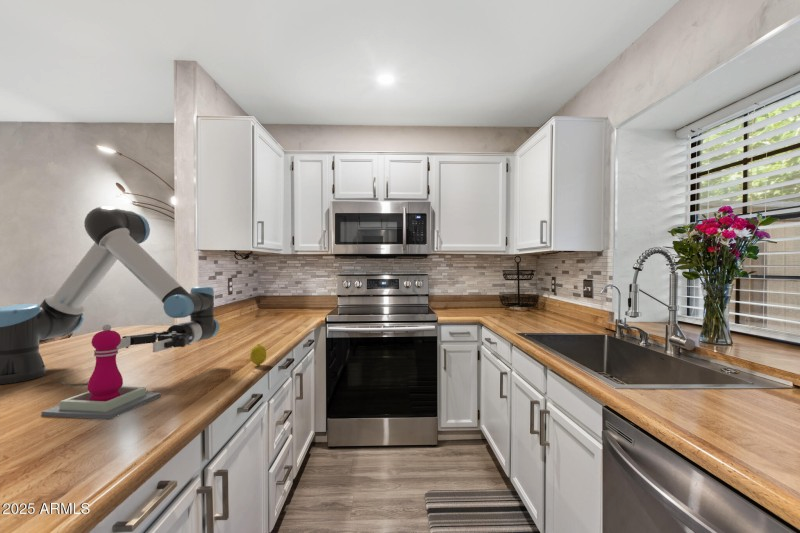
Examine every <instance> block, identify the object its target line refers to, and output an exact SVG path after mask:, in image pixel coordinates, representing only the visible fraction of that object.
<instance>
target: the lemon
mask: <svg viewBox="0 0 800 533" xmlns="http://www.w3.org/2000/svg"><path fill="white" fill-rule="evenodd" d="M250 360H251V362H252V363H253V364H255V365H256V366H257V367H260V365H262V364H263V363H264V362H265V361H266V360H267V349H266V348H265V347H264V345H261V344H260V343H259V344H256V345H255V346H253V347H252V349H251V351H250Z"/></svg>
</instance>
